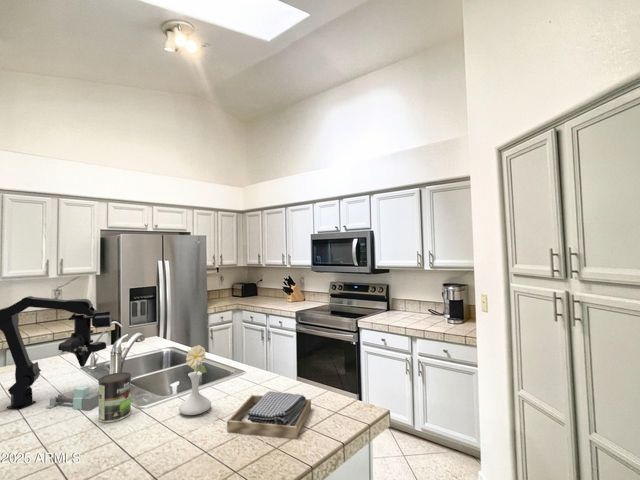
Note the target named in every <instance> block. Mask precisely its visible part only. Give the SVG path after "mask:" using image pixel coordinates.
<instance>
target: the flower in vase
mask: <svg viewBox="0 0 640 480" xmlns="http://www.w3.org/2000/svg"><path fill="white" fill-rule="evenodd" d="M205 358H206V349H205V347H203V346H202V345H200V344H198V345H197V346H196V345H194V346H192V347H191V348H190V350H188V353H187V354H186V358H185V361H186V363H185V364H186V365H187V366H188V367H190V368H191V369H193V370H195V371H193V372H189V373H188V374H187V376H188V377H189V378H190V381H191V393H190V395H189V396H188V397H187V398H185V399H184V400H183V402H182V403H181V404H180V405H179V408H178V411H179V413H180V414H182V415H186V416H193V415H199V414H202V413H205V412H206V411H208V410H210V408H211V406H212V402H211V400H210V399H209V398H207V397H206V396H204V395H203V394H201V393H200V391H199V390H200V389H199V381H200V378H201V376H202V375H203V374H204V373H208V371H207V369H206V366H205V365H201V364H202V363H203V361H204V359H205ZM198 366H199V367H198ZM197 367H198V368H197Z"/></svg>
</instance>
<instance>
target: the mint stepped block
mask: <svg viewBox="0 0 640 480" xmlns="http://www.w3.org/2000/svg"><path fill="white" fill-rule="evenodd" d="M73 392H74V395H73V398H72V399H73V403H72V409H73V410H82V411H83V398H85V397H87V396H89V395H91V393H90V387H89V386H78V387H76V388H74V391H73Z"/></svg>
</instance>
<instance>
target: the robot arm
mask: <svg viewBox="0 0 640 480" xmlns="http://www.w3.org/2000/svg"><path fill="white" fill-rule="evenodd" d="M92 305H93V303H92V302H91V300H90V299H88V298H77V299H75V298H74V299H57V298H49V297H37V296H33V295H28V296H25V297H22V298H21V300H19V301H17V302H15V303H13V304H12V305H10V306H6V307H3V308H1V309H0V331H1V332H2V333H3V335H4V337H5V338H4V339H5V341H6V344H7V346H8V349H9V352H10V354H11V357H12V360H13V362H14V365H15V370H14V371H15V372H14V377H15V383H13V384H12V386H10V387H9V388H8V389H7V391H8V394H9V395H10V404H9V405H8V406H6V409H9V410H12V409H13V410H21V409H23V408H26V407H28V406H31V405H32V404H35V403H37V401H36V400H33V387H32V386H33V384H34V383H35V382H36V381H37V380H38V379H39V377H40V375H41V373H40V372H41V371H42V369H40V367H39V362H38V361H36V362H35V363H34V362H33V361H31V359H30V357H29V354H28V351H27V348H26V346H25V343H24V341H23V337H22V334H21V333H20V332H21V331H20V329H19V320H20V319H19V314H20V313H21V312H24V311H25V310H26V309H29V308H40V309H50V310H51V309H52V310H63V311H67V312H69V313H72V314H71V316H70V317H69V318H68V321H74V326H73V327H74V332H71V334H70V337H69V338H67V339H66V340H65V341H63V342H60V343H59V344H58V347H57V349H58V351H61V352H63V353H65V352H66V353H70V354H73V355H75V357H76V359H77V362H78V364H79V367H81V368H84V367H85V366H86V364H87V362H88V359H89V358H90V356H91V355H92V353H97V352H99V351H103V350H105V349H107V343H106V342H105V341H96V342H94V339H91V338H92V334H93V333H94V330H93V329H92V327H94V328H95V329H100V328H101V329H102V328H110V327H111V326H112V322H113V321H112V320H113V319H112V316H111V315H112V313H111V310H106V311H97V310H96V309H95V308H94V306H92Z"/></svg>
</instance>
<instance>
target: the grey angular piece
mask: <svg viewBox="0 0 640 480" xmlns="http://www.w3.org/2000/svg"><path fill="white" fill-rule="evenodd" d="M64 396H65V394H62V393H60V394H57V396H55V397H51V398H49V405H47V406H46V407H45V409H46V410H47V409H50V410H52V409H53V408H55V407H57V405H58V406H60V405H62V404H64V403H69V404H73V398H70V397H64ZM97 407H99V393H90V395H89V396H87V397H85V398H83V409H82V411H91V410H93V409H95V408H97Z"/></svg>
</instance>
